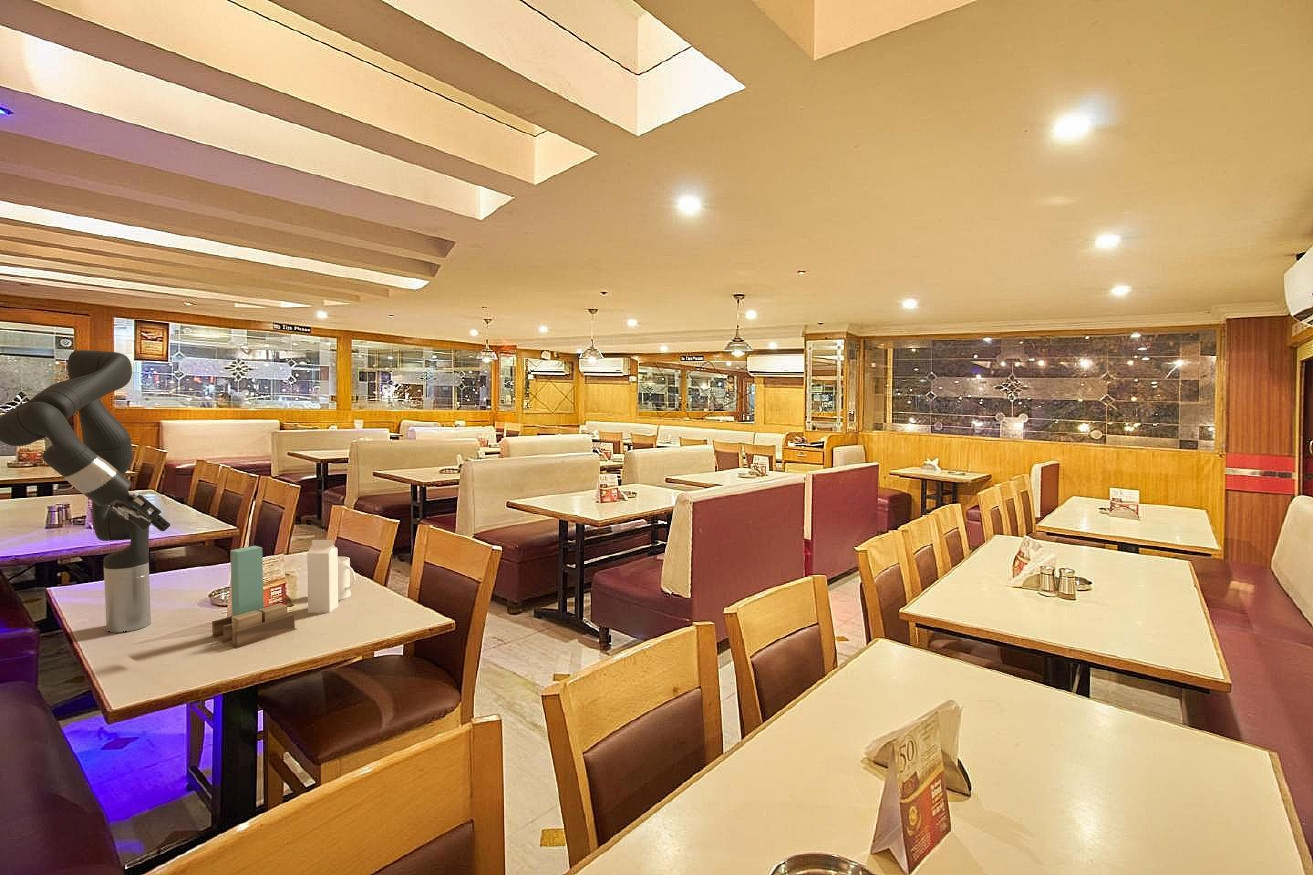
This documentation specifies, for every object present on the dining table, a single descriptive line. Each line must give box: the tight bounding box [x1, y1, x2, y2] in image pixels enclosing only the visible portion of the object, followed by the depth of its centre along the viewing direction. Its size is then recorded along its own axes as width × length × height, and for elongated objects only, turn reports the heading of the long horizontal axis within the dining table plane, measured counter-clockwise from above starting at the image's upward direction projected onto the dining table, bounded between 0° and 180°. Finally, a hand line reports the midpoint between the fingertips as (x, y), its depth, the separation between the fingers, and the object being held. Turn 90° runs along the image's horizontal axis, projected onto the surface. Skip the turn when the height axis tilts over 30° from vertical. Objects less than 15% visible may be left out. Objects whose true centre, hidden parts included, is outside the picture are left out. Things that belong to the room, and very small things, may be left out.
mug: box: [338, 556, 357, 602], centre depth 193 cm, size 12×8×12 cm
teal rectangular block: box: [229, 545, 265, 617], centre depth 161 cm, size 4×6×22 cm, turn 150°
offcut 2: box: [259, 603, 288, 623], centre depth 162 cm, size 3×6×6 cm, turn 150°
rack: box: [210, 605, 298, 650], centre depth 161 cm, size 13×15×6 cm
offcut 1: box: [232, 610, 262, 643], centre depth 156 cm, size 3×6×6 cm, turn 150°
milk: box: [306, 539, 339, 614], centre depth 179 cm, size 6×6×22 cm
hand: (156, 527), depth 145 cm, fingers open, 8 cm apart
